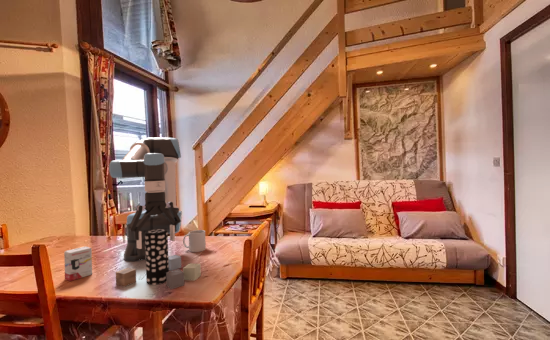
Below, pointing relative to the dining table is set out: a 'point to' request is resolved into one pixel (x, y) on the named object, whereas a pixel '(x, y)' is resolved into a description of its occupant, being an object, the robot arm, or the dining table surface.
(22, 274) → the dining table surface
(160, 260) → the spotted tube
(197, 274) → the sage block
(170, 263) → the dusty blue block
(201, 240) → the mug
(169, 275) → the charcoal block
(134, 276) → the walnut block
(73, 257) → the ink box
